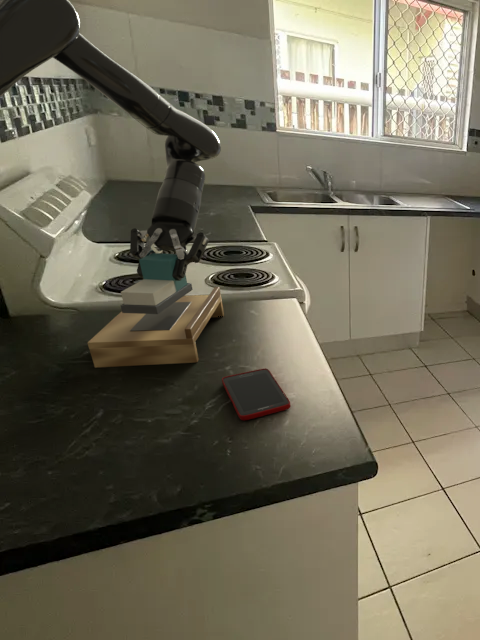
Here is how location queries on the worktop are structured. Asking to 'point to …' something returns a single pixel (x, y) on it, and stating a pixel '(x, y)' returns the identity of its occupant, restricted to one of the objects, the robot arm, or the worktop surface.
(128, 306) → the trainer
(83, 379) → the worktop surface
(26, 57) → the robot arm
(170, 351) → the shoe shelf
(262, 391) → the cell phone
